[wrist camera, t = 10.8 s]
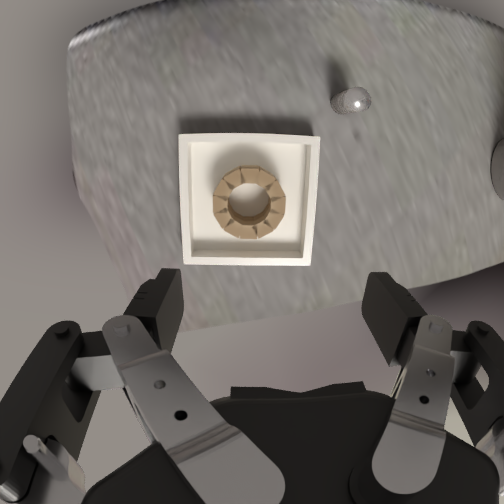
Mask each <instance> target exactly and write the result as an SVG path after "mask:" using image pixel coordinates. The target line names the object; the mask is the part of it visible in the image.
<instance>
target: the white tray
mask: <svg viewBox="0 0 504 504" xmlns="http://www.w3.org/2000/svg"><path fill="white" fill-rule="evenodd" d="M319 150H320V137H314V136H300V135H284V134H259V133H202V134H179V183H180V209H181V228H182V245H183V259H184V264H203V265H291V266H310V262H311V252H312V243H313V232H314V221H315V210H316V197H317V183H318V168H319ZM241 165H258V167H259V166H260V167H262V168H264V169H265V170H267V171H269V172H270V173H272V174H273V175H274V176H275V177H276V179H277V180H278V182H279V184H280V186H281V188H282V190H283V191H284V193H285V196H286V205H285V214H284V217H283V219H282V220H281V222H280V223H279V225H278V226H277V228H276V229H275V230H274V229H273V230H274V231H273V232H271V233H269V234H267V235H265V236H263V237H261V238H259V239H258V237H257V239H240V237H239V238H236V237H235V236H233V235H231V234H229V233H227V232H226V231H224V228H223V229H222V228H221V226H220V225H219V223H218V221H217V220H216V218H215V217H214V215H213V214H214V213H213V193H214V191H215V190H216V188H217V186H218V184H219V183H220V181H221V179H222V178H223V176H224V174H225V173H227V172H229V171H231V170H232V169H234V168H236V167H238V166H240V167H241ZM229 203H230V205H231V206H232V208H233V210H234V211H235V212H237V213H238V214H240V215H242V216H255V215H257V214H259V213H261V212H263V210H264V209H265V207H266V206H267V204H268V193H267V191H266V190H265V189H264V188H262V187H260V186H259V185H257V184H251V183H243V184H242V185H240V186H238V187H236V188H234V189H233V191H232V192H231V194H230V195H229Z"/></svg>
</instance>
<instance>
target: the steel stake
mask: <svg viewBox="0 0 504 504" xmlns="http://www.w3.org/2000/svg"><path fill="white" fill-rule="evenodd" d="M370 104H371V97H370V95H369V93H368V92H367V91H366V90H365V89H364V88H361V87H354V88H351V89H348V90H346V91H343V92H341V93H338V94H336V95H334V96H333V97H332V99H331V107H332V109H333V110H334V111H335V112H336V113H338V114H348V113H355V112H361V111H365V110H367V109H368V108H369V107H370Z"/></svg>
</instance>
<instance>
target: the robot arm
mask: <svg viewBox="0 0 504 504" xmlns="http://www.w3.org/2000/svg"><path fill="white" fill-rule="evenodd" d="M491 174H492V182H493V186H494V189H495V191H496V193H497V195H498V196H499V197H500V198H501V199H502V200H504V138H503V139H502V140H501V141H500V142H499V143H498V144H497V146H496V148H495V150H494V154H493V157H492V165H491ZM183 311H184V300H183V290H182V279H181V271H180V269H170V268H162V269H161V270H160V272H159V274H158V275H157V277H156V279H149V280H148V281H146V282H145V283H143V284H142V285H141V286H140V288H139V289H138V291H137V293H136V294H135V296H134V297H133V299H132V301H131V302H130V304H129V305H128V307H127V309H126V310H125V312H124V314H123V315H121V316H116V317H113V318H111V319H110V320H108V321H107V322H106V323H105V324H104V325H103V327H102V331H96V332H86V333H82V332H81V329H80V326H79V324H78V323H76V322H74V321H61V322H58V323H56V324H54V325H52V326H51V327H50V328H49V329H48V330H47V331H46V332H45V334H44V335H43V337H42V338H41V340H40V341H39V342H38V344H37V345H36V347H35V348H34V349H33V351H32V352H31V354H30V355H29V357H28V358H27V360H26V361H25V363H24V365H23V366H22V367H21V369H20V371H19V373H18V374H17V375H16V377H15V379H14V380H13V382H12V383H11V385H10V387H9V388H8V390H7V392H6V394H5V395H4V397H3V398H2V400H1V402H0V499H1V500H2V501H3V502H5V503H6V504H499V496H504V341H503V340H502V339H501V337H500V336H499V335H498V334H497V333H496V331H495V330H494V329H493V328H492V327H491V326H490V325H488V324H486V323H484V322H481V321H471V322H470V323H469V325H468V327H467V329H466V332H464V331H455V330H452V326H451V325H450V323H449V322H448V321H447V320H445V319H443V318H441V317H439V316H435V315H428V314H427V313H426V312H425V311H424V309H423V308H422V307H421V306H420V305H419V303H418V302H417V301H416V300H415V299H414V297H413V296H411V294H410V293H409V292H408V290H407V289H406V288H404V287H403V286H401V285H400V284H398V283H396V282H395V281H394V280H393V278H392V277H391V276H390V275H389V274H388V273H387V272H371V273H370V274H369V276H368V279H367V284H366V288H365V293H364V297H363V301H362V315H363V318H364V319H365V322H366V323H367V325H368V327H369V329H370V331H371V333H372V335H373V336H374V338H375V340H376V342H377V344H378V346H379V348H380V350H381V352H382V354H383V356H384V357H385V359H386V361H387V363H388V365H389V367H390V366H397V365H401V369H400V371H399V374H398V376H397V379H396V382H395V384H394V387H393V389H392V392H391V394H390V396H388V395H385V394H382V393H378V392H374V391H368V390H366V388H365V386H364V383H363V382H362V381H361V382H352V383H342V384H332V385H329V386H325V387H321V388H318V389H314V390H310V391H307V392H302V393H298V392H291V391H285V390H279V389H273V388H267V387H231V394H230V396H229V397H223V398H220V399H216V400H213V401H211V402H208V400H207V399H206V398H205V397H204V396H203V395H202V393H201V392H200V391H199V390H198V389H197V387H196V386H195V385H194V384H193V382H192V381H191V380H190V379H189V377H188V376H187V375H186V373H185V372H184V371H183V370H182V368H181V367H180V366H179V364H178V363H177V362H176V360H175V359H174V358H173V356H172V355H171V351H172V348H173V345H174V342H175V338H176V335H177V332H178V329H179V326H180V323H181V320H182V316H183ZM481 365H482V367H483V368H484V370H485V371H486V373H487V374H488V377H489V385H488V388H487V389H486V391H485V392H484V390H483V388H482V387H481V385H480V384H479V382H478V380H477V379H476V377H475V376H476V374H477V372H478V371H479V369H480V367H481ZM118 388H122V390H123V392H124V394H125V396H126V398H127V400H128V402H129V404H130V406H131V408H132V410H133V412H134V414H135V415H136V418H137V419H138V421H139V423H140V425H141V427H142V429H143V431H144V433H145V435H146V437H147V438H148V440H149V442H150V443H151V445H150V446H148V447H147V448H146V449H144V450H143V451H142V452H140V453H139V454H137V455H136V456H135V457H133V458H132V459H131V460H129V461H128V462H126V463H125V464H124V465H122V466H121V467H119V468H118V469H116V470H115V471H113V472H112V473H110V474H109V475H108V476H106V477H105V478H103V479H102V480H100V481H99V482H97V483H96V484H95V485H93V486H92V487H91V488H90V489H89V490H88V492H87V493H86V491H85V474H84V471H83V469H82V468H81V466H80V465H79V464H78V463H77V460H78V457H79V454H80V450H81V447H82V444H83V441H84V438H85V435H86V432H87V429H88V426H89V423H90V420H91V417H92V415H93V412H94V409H95V406H96V404H97V401H98V398H99V396H100V393H101V390H107V389H118ZM450 397H451V398H452V400H453V402H454V404H455V406H456V408H457V410H458V412H459V415H460V417H461V419H462V421H463V422H464V425H465V427H466V429H467V431H468V434H469V436H470V438H471V440H472V442H473V445H474V447H473V446H471V445H470V444H468V443H466V442H464V441H463V440H461V439H459V438H457V437H456V436H454V435H453V434H451V433H449V432H448V431H446V430H444V425H445V420H446V415H447V410H448V405H449V399H450Z"/></svg>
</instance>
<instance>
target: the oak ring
mask: <svg viewBox="0 0 504 504" xmlns="http://www.w3.org/2000/svg"><path fill="white" fill-rule="evenodd" d="M243 183H251V184H257V185H259V186H260V187H262V188H264V189H265V190H266V191H267V193H268V204H267V206H266V207H265V209H264V210H263V212H261V213H259V214H257V215H255V216H242V215H240V214H238V213H237V212H235V211H234V210H233V208H232V206H231V205H230V203H229V195H230V194H231V192H232V191H233V189H234V188H236V187H238V186H240V185H242V184H243ZM285 205H286V196H285V193H284V191H283V190H282V188H281V186H280V184H279V182H278V180H277V179H276V177H275V176H274V175H273V174H272V173H270V172H269V171H267V170H265V169H264V168H262V167H260V166H259V167H258V165H241V167H240V166H238V167H236V168H234V169H232V170H231V171H229V172H227V173H225V174H224V176H223V178H222V179H221V181H220V183H219V184H218V186H217V188H216V190H215V191H214V193H213V213H214V214H213V215H214V217H215V218H216V220H217V221H218V223H219V225H220V226H221V228H222V229H223V228H224V231H226V232H227V233H229V234H231V235H233V236H235V237H236V238H239V237H240V239H257V237H258V239H259V238H261V237H263V236H265V235H267V234H269V233H271V232H273V231H274V230H275V229H276V228H277V226H278V225H279V223H280V222H281V220H282V219H283V217H284V214H285ZM273 229H274V230H273Z"/></svg>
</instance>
